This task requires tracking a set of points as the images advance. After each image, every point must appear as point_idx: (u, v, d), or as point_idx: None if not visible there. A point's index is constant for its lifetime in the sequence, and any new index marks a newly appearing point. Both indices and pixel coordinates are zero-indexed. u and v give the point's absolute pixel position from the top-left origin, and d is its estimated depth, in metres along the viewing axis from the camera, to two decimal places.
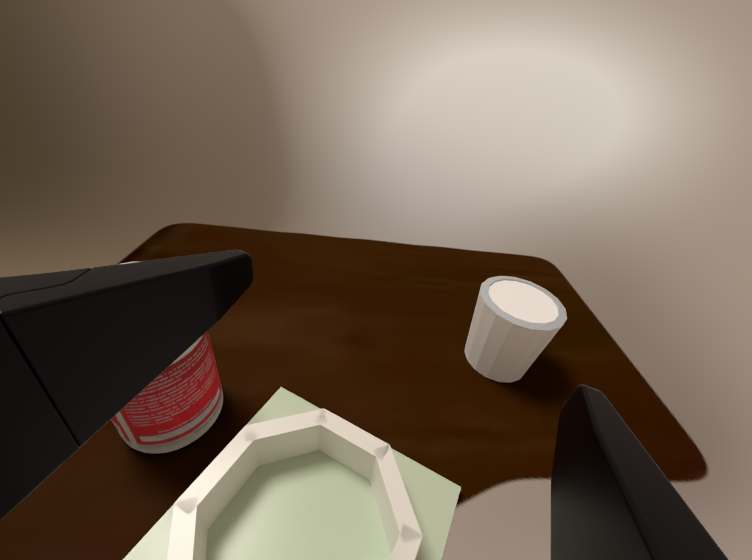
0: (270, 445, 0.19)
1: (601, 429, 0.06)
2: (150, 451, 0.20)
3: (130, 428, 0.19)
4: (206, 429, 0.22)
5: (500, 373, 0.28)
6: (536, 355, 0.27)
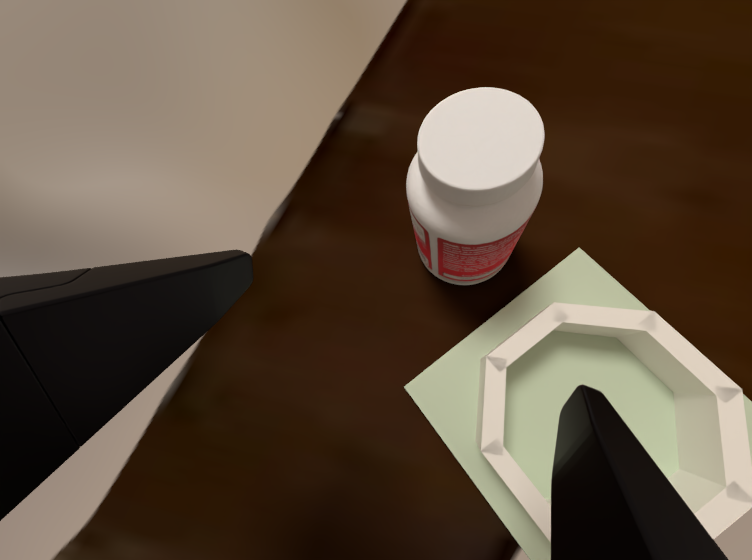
0: (573, 326, 0.18)
1: (601, 429, 0.06)
2: (446, 281, 0.22)
3: (439, 266, 0.20)
4: (494, 274, 0.21)
5: None
6: None
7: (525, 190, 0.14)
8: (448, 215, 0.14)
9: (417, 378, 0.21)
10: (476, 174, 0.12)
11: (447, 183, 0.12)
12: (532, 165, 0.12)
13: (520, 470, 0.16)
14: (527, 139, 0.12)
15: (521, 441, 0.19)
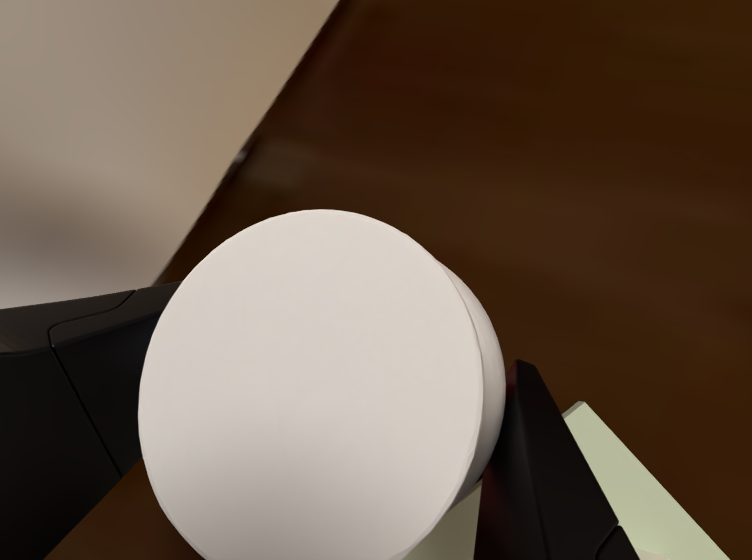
0: None
1: (523, 396, 0.06)
2: None
3: None
4: None
5: None
6: None
7: None
8: None
9: None
10: (265, 523, 0.04)
11: None
12: (439, 520, 0.04)
13: None
14: (429, 410, 0.04)
15: None
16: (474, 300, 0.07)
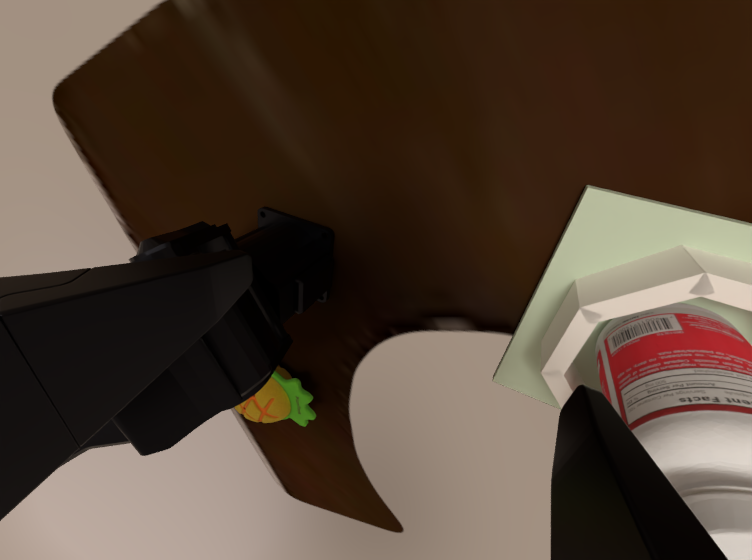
0: None
1: (601, 429, 0.06)
2: (595, 348, 0.19)
3: (603, 371, 0.17)
4: None
5: None
6: None
7: None
8: None
9: (609, 195, 0.16)
10: None
11: None
12: None
13: (584, 340, 0.16)
14: None
15: None
16: None
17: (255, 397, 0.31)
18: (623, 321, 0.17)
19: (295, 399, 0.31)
